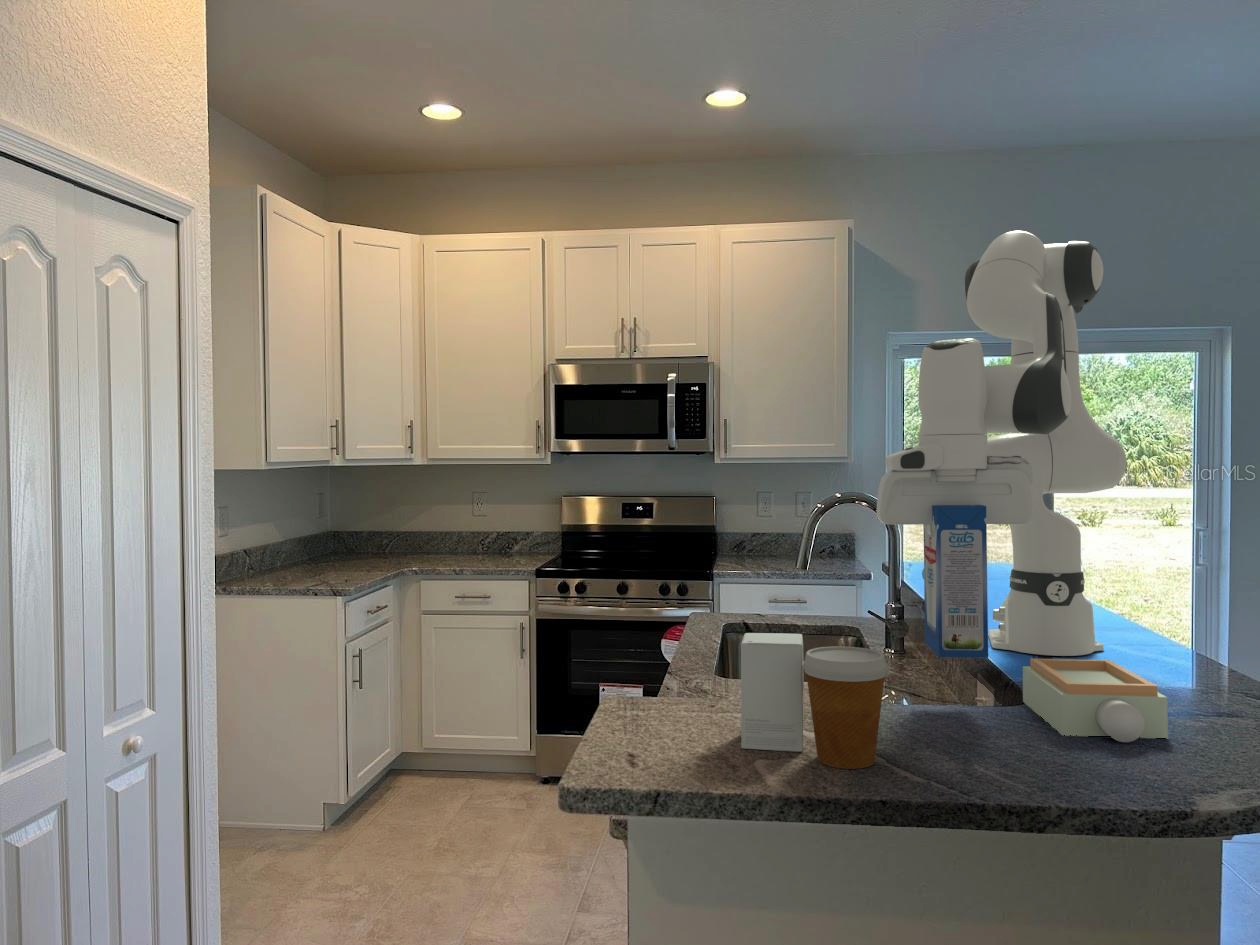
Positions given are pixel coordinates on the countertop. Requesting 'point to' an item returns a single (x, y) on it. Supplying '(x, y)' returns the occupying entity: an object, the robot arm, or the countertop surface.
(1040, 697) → the framed green panel box
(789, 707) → the supplement box
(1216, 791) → the countertop surface
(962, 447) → the robot arm
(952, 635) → the milk carton
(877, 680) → the disposable coffee cup
